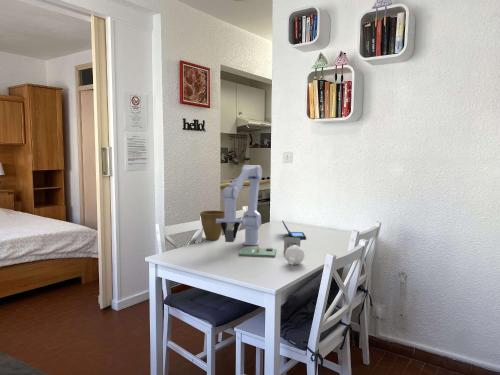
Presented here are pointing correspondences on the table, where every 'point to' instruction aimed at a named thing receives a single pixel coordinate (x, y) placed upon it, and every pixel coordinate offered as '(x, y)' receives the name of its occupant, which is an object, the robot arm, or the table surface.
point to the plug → (229, 235)
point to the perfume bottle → (294, 254)
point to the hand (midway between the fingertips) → (230, 237)
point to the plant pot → (212, 224)
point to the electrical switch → (291, 242)
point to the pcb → (258, 252)
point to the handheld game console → (295, 233)
